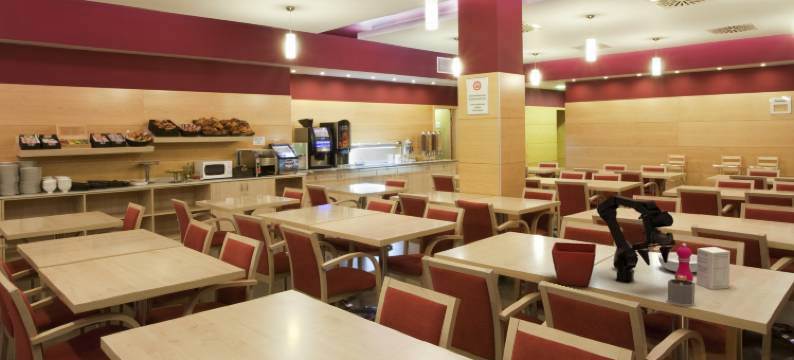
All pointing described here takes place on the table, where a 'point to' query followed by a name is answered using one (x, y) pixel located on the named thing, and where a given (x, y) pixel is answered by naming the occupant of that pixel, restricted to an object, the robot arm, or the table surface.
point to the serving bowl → (674, 263)
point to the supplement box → (713, 267)
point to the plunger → (681, 279)
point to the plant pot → (574, 263)
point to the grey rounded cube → (681, 293)
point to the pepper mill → (684, 262)
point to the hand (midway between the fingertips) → (657, 264)
